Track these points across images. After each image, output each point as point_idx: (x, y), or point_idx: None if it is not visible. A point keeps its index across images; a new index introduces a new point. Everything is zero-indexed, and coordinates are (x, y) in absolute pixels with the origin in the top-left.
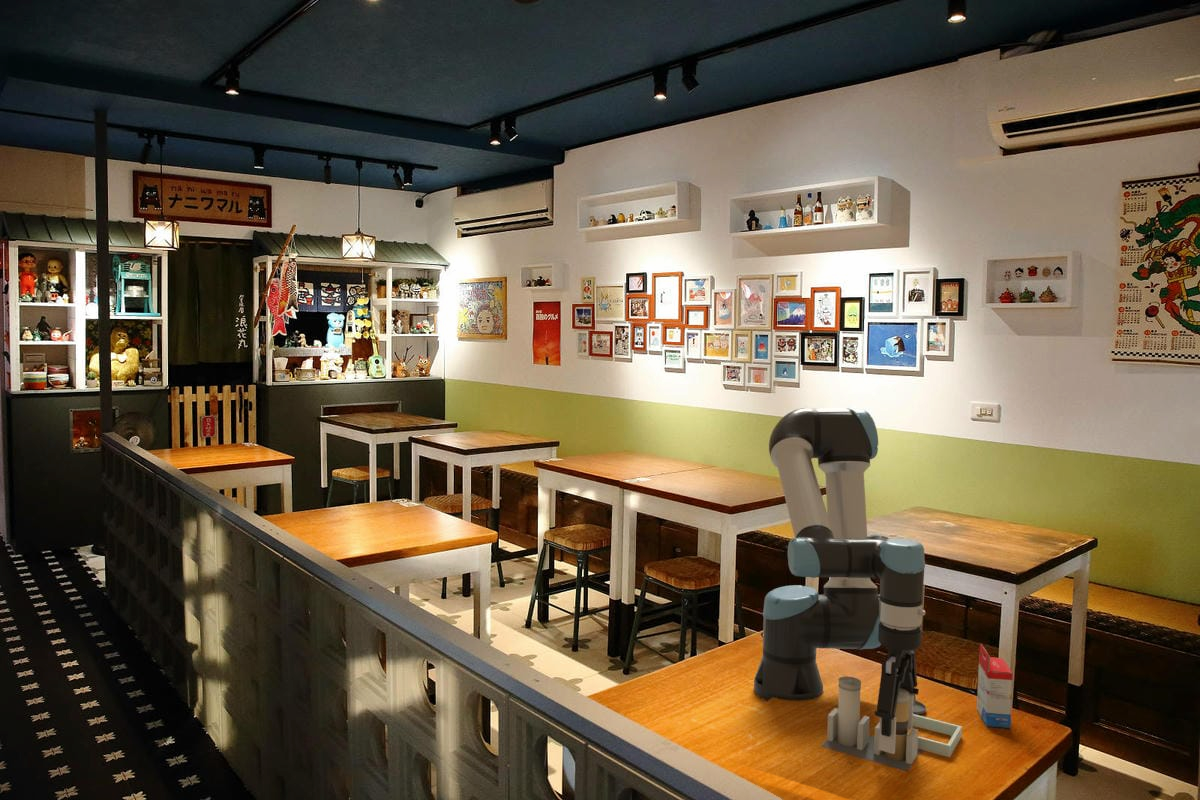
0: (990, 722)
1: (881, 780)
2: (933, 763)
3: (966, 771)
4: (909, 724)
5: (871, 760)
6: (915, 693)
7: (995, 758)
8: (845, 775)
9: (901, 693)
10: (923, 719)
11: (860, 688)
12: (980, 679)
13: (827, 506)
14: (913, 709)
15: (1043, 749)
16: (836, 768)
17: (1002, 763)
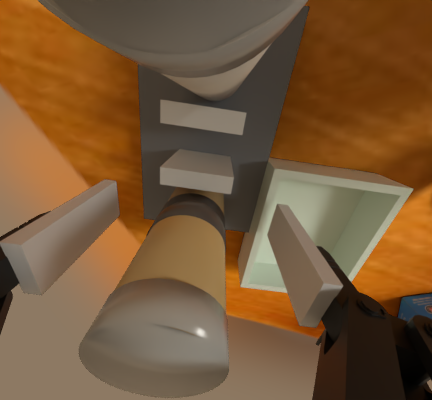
0: (406, 307)
1: (116, 171)
2: (232, 240)
3: (228, 277)
4: (270, 238)
5: (142, 149)
6: (319, 341)
7: (286, 303)
8: (81, 95)
9: (151, 376)
10: (367, 240)
11: (184, 75)
12: None
13: None
14: None
15: None
16: (96, 64)
17: (274, 309)
